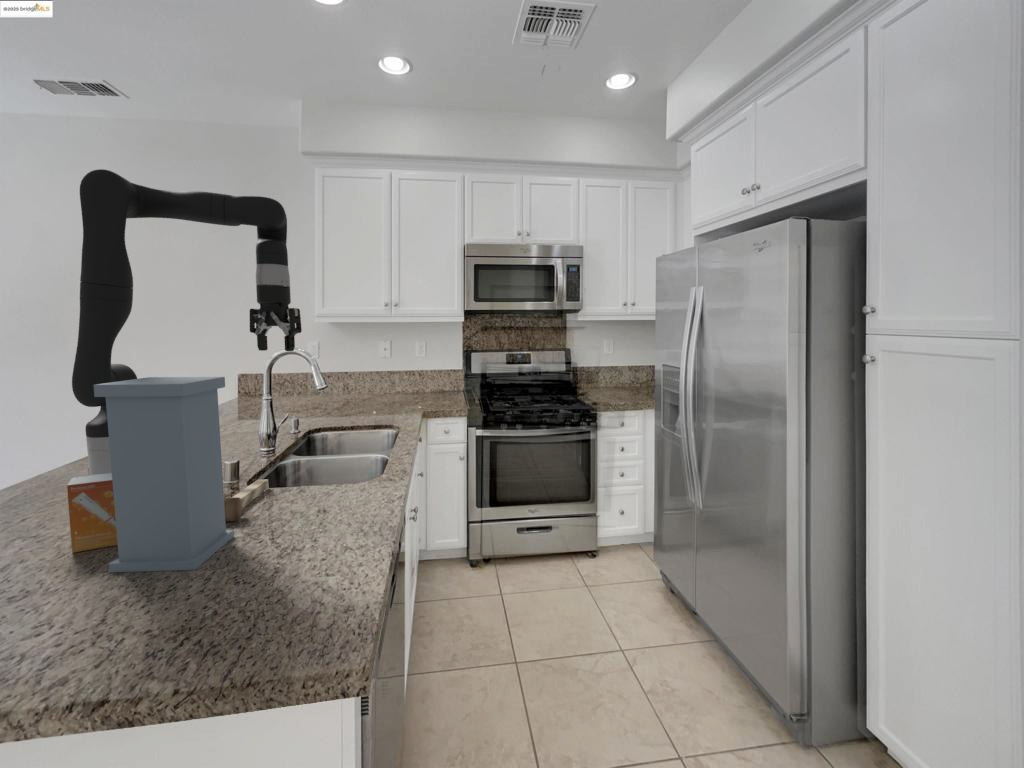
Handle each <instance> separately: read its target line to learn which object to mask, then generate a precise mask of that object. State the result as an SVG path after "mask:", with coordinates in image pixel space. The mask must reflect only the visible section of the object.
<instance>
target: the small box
mask: <svg viewBox="0 0 1024 768" xmlns="http://www.w3.org/2000/svg"><path fill="white" fill-rule="evenodd" d="M66 488H67V490H66V492H67V504H68V506H67V507H68V516H69V520H68V521H69V532H70V541H71V542H70V543H71V553H72V554H74V553H80V552H85V551H90V550H91V551H92V550H96V549H97V550H98V549H102V548H108V546H109V547H113V546H118V543H117V530H116V518H115V506H114V494H113V482H112V473H107V474H97V475H91V476H88V475H85V476H75V477H72V478H71V479H70V480H69V481H68V483H67V484H66Z"/></svg>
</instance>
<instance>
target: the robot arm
mask: <svg viewBox="0 0 1024 768" xmlns="http://www.w3.org/2000/svg"><path fill="white" fill-rule="evenodd" d="M79 198H80V199H79V201H80V208H81V210H80V211H81V219H82V220H81V221H82V246H81V247H82V248H81V265H80V279H79V280H80V283H79V284H80V285H79V319H78V332H77V333H78V334H77V335H78V337H77V346H76V351H75V357H74V363H73V370H72V375H71V389H72V392H73V395H74V397H75V399H76V400H77V402H79V403H80V404H81V405H83V406H85V407H88V408H96V407H98V408H99V407H100V410H99V412H98V414H97V415H96V416H95V417H93V418H92V419H91V420H89V421H88V422H87V423H86V425H85V436H86V438H85V439H86V447H87V448H86V449H87V458H88V459H87V460H88V461H87V462H88V468H87V476H91V475H97V474H107V473H112V470H111V458H110V445H109V433H108V421H107V409H106V397H95V396H94V385H96V384H103V383H110V382H118V381H125V380H132V379H138V377H137V376H138V375H137V374H136V372H135V370H133V369H132V368H131V367H130V366H128V365H126V364H122V363H112V353H113V347H114V344H115V341H116V339H117V337H118V335H119V333H120V332H121V330H122V329H123V327H124V326H125V324H126V322H127V320H128V319H129V317H130V314H131V312H132V309H133V301H134V300H133V299H134V277H133V271H132V267H131V262H130V259H129V255H128V251H127V247H126V246H127V245H126V226H127V225H126V224H127V219H142V218H143V219H146V218H147V219H149V218H150V219H151V218H154V219H173V220H181V221H182V220H183V221H189V222H195V223H196V222H197V223H203V224H211V225H220V226H228V227H239V226H241V225H245V226H253V227H256V233H257V243H256V245H255V256H256V257H255V261H256V268H255V269H256V270H255V285H256V289H255V290H256V303H257V304H259V308H250V309H249V333H253V334H255V336H256V341H257V342H256V343H257V344H256V345H257V349H258V351H261V352H262V351H268V350H269V349H268V336H267V334H268V332H269V330H270V329H272V328H273V327H278V328H279V329H280V330H282V332H283V334H284V337H283V338H284V351H285V352H293V351H294V350H295V349H296V348H295V347H296V345H295V343H296V342H295V340H296V339H295V336H296V335H297V334H301V333H302V331H303V330H302V320H301V318H302V317H301V311H300V308H298V307H297V308H296V307H289V305H291V302H292V301H291V300H292V299H291V278H290V277H291V276H290V271H289V258H288V257H289V255H288V248H287V242H288V241H287V239H288V218H287V214H286V211H285V208H284V206H283V205H282V204H281V203H280V202H279V201H278V200H276V199H274V198H271V197H267V196H260V195H259V196H257V195H255V196H253V195H251V196H250V195H237V196H236V195H230V194H226V193H224V194H223V193H219V192H212V191H211V192H209V191H200V190H195V191H194V190H188V191H187V190H185V191H184V190H183V191H181V190H166V189H165V190H163V189H159V188H158V189H157V188H152V187H148V186H145V185H141V184H137V183H134V182H131V181H130V180H128V179H127V178H125V177H123V176H121V175H120V174H118V173H116V172H114V171H112V170H110V169H106V168H105V169H103V168H97V169H93V170H90V171H89V172H87V173H86V174H85V175H84V176H83V177H82V179H81V181H80V184H79Z"/></svg>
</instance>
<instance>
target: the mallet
mask: <svg viewBox="0 0 1024 768" xmlns="http://www.w3.org/2000/svg"><path fill="white" fill-rule="evenodd" d="M269 486H270V485H269V479H264V478H263V479H256V481H254V482H252V483H250V484H249V485H248V486H246V487H244V489H241V490H240V491H239V492H237V493H236V494H234V495H233V496H232V497H224V508H225V523H226V522H227V523H228V522H229V521H230V522H238V521H239V520H240V518H241V516H242V513H243V509H244V508H245V507H244V506H246V505H247V504H248V503H250V502H251V501H252V500H253V499H255V498H256V497H258V496H259V495H260V494H262V493H263V492H264V490H266V489H268V490H269V489H270V487H269ZM264 493H265V492H264ZM264 493H263V494H264ZM263 494H262V495H263ZM260 496H261V495H260ZM260 496H259V497H260ZM259 497H258V498H259ZM256 499H257V498H256ZM256 499H255V500H256ZM252 502H253V501H252ZM252 502H251V503H252ZM251 503H250V504H251ZM248 505H249V504H248ZM248 505H247V506H248ZM247 506H246V507H247ZM243 507H244V508H243ZM242 508H243V509H242ZM238 519H239V520H238ZM237 520H238V521H237Z"/></svg>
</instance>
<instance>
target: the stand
mask: <svg viewBox="0 0 1024 768" xmlns="http://www.w3.org/2000/svg"><path fill="white" fill-rule="evenodd" d="M225 378H226V377H225V376H169V377H168V376H161V377H159V376H155V377H154V376H149V377H142V378H141V377H140V378H137V379H132V380H125V381H118V382H110V383H103V384H96V385H94V396H95V397H106V409H107V421H108V433H109V445H110V458H111V470H112V482H113V494H114V506H115V518H116V530H117V543H118V545H117V551H118V552H117V555H118V558H115V559H114V560H112V561H111V562H109V563H108V572H109V573H131V572H134V573H135V572H159V571H160V572H164V571H165V572H166V571H195V570H197V569H199V567H200V566H201V565H203V564H204V563H205V562H207V560H208V559H210V558H211V557H212V556H213V555H215V554H216V553H217V552H218V551H219V550H221V549H222V548H223V547H224V546H225V545H226V544H228V543H229V542H230V541H231V540H232V539H234V538H235V533H234V532H235V531H234V529H227V528H226V527H227V525H226V522H225V508H224V498H225V497H224V496H225V494H224V493H225V492H224V480H223V478H224V477H223V461H222V446H221V445H222V444H221V428H220V427H221V426H220V411H219V409H220V408H219V395H218V389H223V388H226V379H225ZM233 537H234V538H233ZM228 541H229V542H228ZM227 542H228V543H227ZM222 546H223V547H222ZM221 547H222V548H221ZM215 552H216V553H215Z"/></svg>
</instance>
